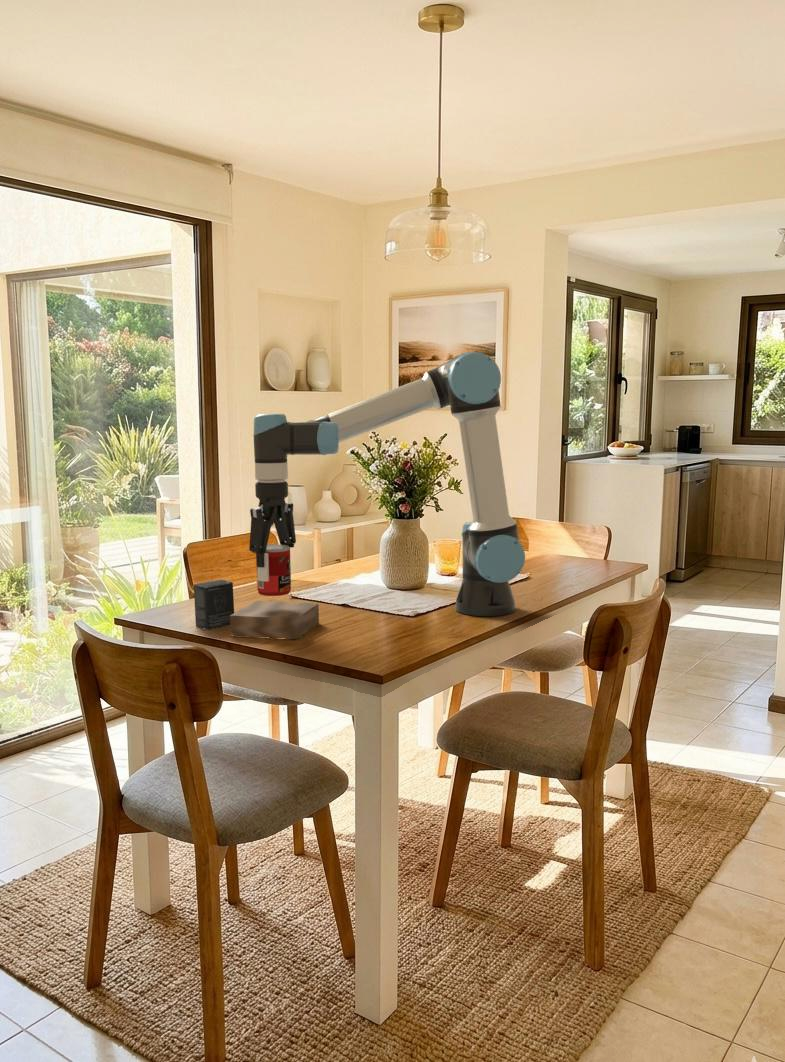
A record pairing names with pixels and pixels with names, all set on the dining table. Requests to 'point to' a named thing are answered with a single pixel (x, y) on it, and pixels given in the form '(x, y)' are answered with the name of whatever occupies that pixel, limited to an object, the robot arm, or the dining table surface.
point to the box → (213, 603)
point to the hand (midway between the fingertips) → (274, 577)
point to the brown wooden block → (275, 619)
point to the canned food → (277, 572)
